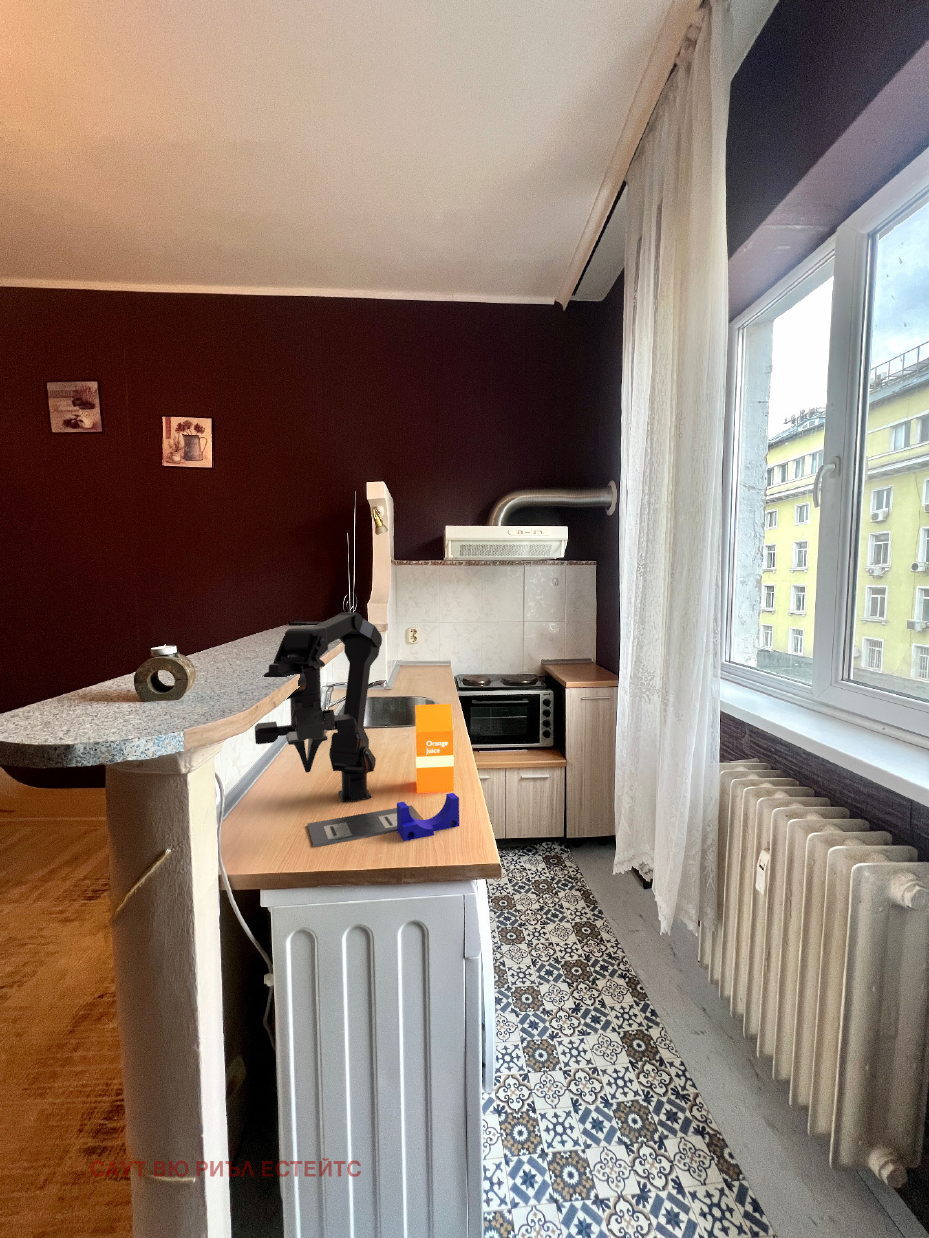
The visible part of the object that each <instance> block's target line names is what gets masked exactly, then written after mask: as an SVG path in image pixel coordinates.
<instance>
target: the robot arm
mask: <svg viewBox="0 0 929 1238" xmlns="http://www.w3.org/2000/svg"><path fill="white" fill-rule="evenodd" d="M282 637H283V638H282V639H281V642H280V644H279V646H278V647H279V648H278V650H277V651H276V652H277V653H276V655H275V657H274V660H273V662H272V663H271V664H269V665H268V671H267V672H266V673H264V675H262V677H263V676H264V677H287V676H290V675H294V674H300V678H299V680H298V686H300V687H299V688H298V689H296V690H295V691H294V692H293V693H292V694H291V695H290V696H289V697H288V698H287V699H286V700H285V701H287V700H289V699H290V724H285V725H278V723H277V721H268V722H258V723H256V724H255V725H254V739H255V744H256V745H264V744H274V743H275V742H277V740H278V739H279V737H282V736H283V737H284V736H285V739H286V742H287V744H288V745H289V746H293V745H294V747H295V749H296V750H297V752H298V755H299V759H300V760H301V763H302V766H303V769H304V771H305V773H310V772H311V770H312V767H313V764H314V760H315V757H316V755H317V751H318V749H319V747H320V746H321V744H322V743H323V742H325V741H328V736H327V733H328V731H337V732H333V733H332V735H331V739H330V741H331V742H330V748H329V759H330V761H329V762H330V763H331V767H332V768H331V769H332V771H333V772H341V790H338V795H339V798H340V800H341V801H342V802H343V803H348V802H353V801H354V802H355V801H360V800H366V799H371V798H372V794H371V793H370V791H369V790H368V779H367V778H368V776H367V775H368V773H372V772H375V771H374V770H375V768H376V763H377V762H376V760H377V759H376V758H377V757H375V755H374V754H373V752H372V751H371V749H370V748H369V747H370V739H369V737H368V734H367V732H366V730H365V728H364V727H365V725H364V724H365V718H366V717H365V716H366V708H367V707H366V706H367V700H368V692H369V691H368V689H369V683H370V682H369V680H370V672H371V667H372V665H373V663H374V662H375V661H376V660H377V658H378V657H379V654H380V648H381V646H382V645H383V636H382V634H381V633H380V631H379V630H378V628H377V626H375V625H374V624H372V623H371V622H369V621H367V620H366V619H365V618H363V617H362V614H361V613H357V612H340V613H338V614H337V615H334V616H333V617H331V618H329V619H327V620H324V621H322V622H320V623H318V624H316V625H313V626H305V627H303V626H301V627H294V628H288V629H287V630H286V631H285V632H284V636H282ZM338 639H339V641H340V642H342V644H343V645H344V650H343V653H344V654H345V657H346V659H347V661H348V663H349V666H348V675H347V681H346V683H347V684H346V689H345V690H346V691H345V692H346V693H345V699H344V706H343V707H344V708H343V714H339V715H335V711H334V709H324V710H323V708H322V696H321V695H322V693H321V692H322V689H321V687H322V686H321V668H323V667H325V666H326V663H325V662H324V661H323V660H322V659H321V657H322V656H323V655H324V654H325V653H326V652H327V651H328V650H329V645H330V644H331V643H333V642H335V641H337V640H338ZM306 740H308V741H307V749H306V743H305V741H306ZM306 750H307V752H306Z"/></svg>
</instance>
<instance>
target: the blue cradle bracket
mask: <svg viewBox="0 0 929 1238" xmlns="http://www.w3.org/2000/svg"><path fill="white" fill-rule="evenodd" d="M445 795H446V796H445V801H444V804H443V806H442V807H441V809H440V810H439V812H438V813H436V815H434V816H432V817H430V818H427V819H424V820H418V819H415V818H413V817H411V815H410V812H409V807H408V806H409V805H408V804H407V803H406V802H405V801H400V802H399V801H398V802H396V808H397V831H396V832H397V834H398V835H399V837H400V838H401V839H402V840H403V842H407V841H408V842H409V841H414V840H418V839H422V838H427V837H431V836H435V832H439V831H443V830H447V829H452V828H457V827H460V797H459V796H458V795H456V794H455V792H451V793H450V792H449V793H446V794H445Z"/></svg>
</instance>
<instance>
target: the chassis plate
mask: <svg viewBox="0 0 929 1238" xmlns="http://www.w3.org/2000/svg"><path fill="white" fill-rule="evenodd" d="M408 807H409V812H410V815H411V817H413V818H415V819H418V820H425V819H424V818H423V817H422V816H421V814H420V813H419V812H418V811H417V810H416V808H415V807H414V806H413V805H408ZM306 825H307V829H308V832H309V835H310V839H311V843H312V846H313V848H318V847H324V846H327V845H328V846H329V845H334V844H338V843H339V844H340V843H344V842H349V841H353V840H354V841H355V840H359V839H364V838H370V837H376V836H380V835H386V834H390V833H395V832H397V807H394V808H387V809H383V810H377V811H371V812H366V813H359V814H354V815H349V816H343V817H337V818H332V819H325V820H319V821H312V822H309V823H308V822H307V824H306Z"/></svg>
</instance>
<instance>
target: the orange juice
mask: <svg viewBox="0 0 929 1238" xmlns="http://www.w3.org/2000/svg"><path fill="white" fill-rule="evenodd" d="M452 713H453V712H452V703H439V704H438V703H437V704H415V767H416V768H415V769H416V793H417V794H421V793H424V794H425V793H426V794H427V793H443V792H444V793H445V792H455V788H454V787H455V783H454V781H455V780H454V779H455V777H454V776H455V775H454V771H455V770H454V769H455V768H454V766H455V765H454V761H455V760H454V758H455V755H454V730H453V729H454V728H453V714H452Z"/></svg>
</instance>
